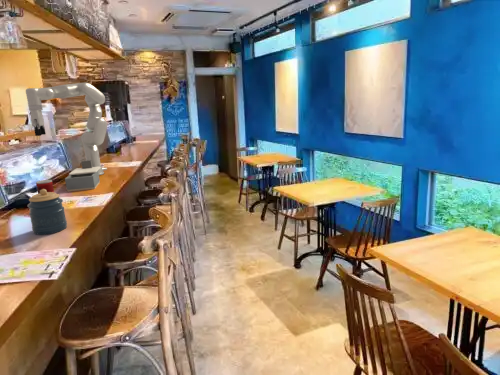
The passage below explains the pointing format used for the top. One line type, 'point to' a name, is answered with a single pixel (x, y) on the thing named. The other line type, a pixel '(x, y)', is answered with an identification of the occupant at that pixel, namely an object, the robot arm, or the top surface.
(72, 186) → the grey box
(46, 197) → the canister
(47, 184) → the canned food
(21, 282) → the top surface
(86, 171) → the sliding lid
